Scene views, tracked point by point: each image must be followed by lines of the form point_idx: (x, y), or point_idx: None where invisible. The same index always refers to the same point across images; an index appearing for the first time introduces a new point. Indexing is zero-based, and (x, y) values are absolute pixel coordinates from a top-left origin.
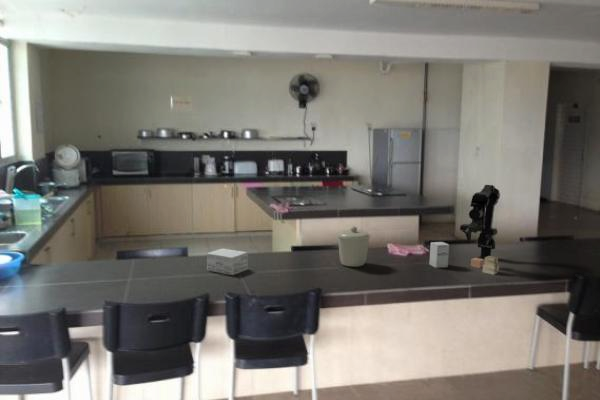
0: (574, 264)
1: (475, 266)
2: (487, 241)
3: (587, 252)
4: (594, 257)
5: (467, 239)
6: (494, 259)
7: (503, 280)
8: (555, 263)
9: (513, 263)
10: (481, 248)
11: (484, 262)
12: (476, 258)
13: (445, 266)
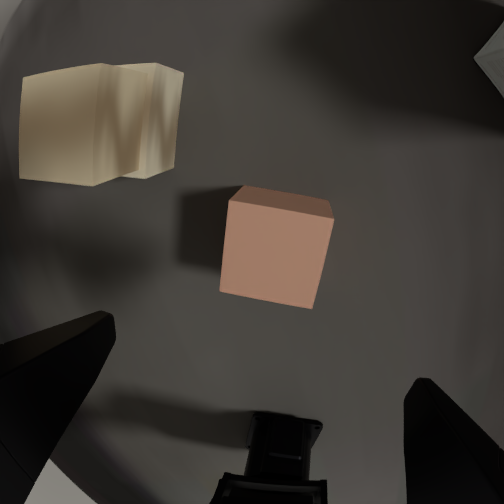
0: None
1: (282, 193)
2: (13, 356)
3: (93, 496)
4: (62, 471)
5: (475, 424)
6: (24, 88)
7: (45, 15)
8: None
9: (130, 397)
10: (300, 473)
11: (132, 70)
12: (291, 284)
13: (484, 45)
